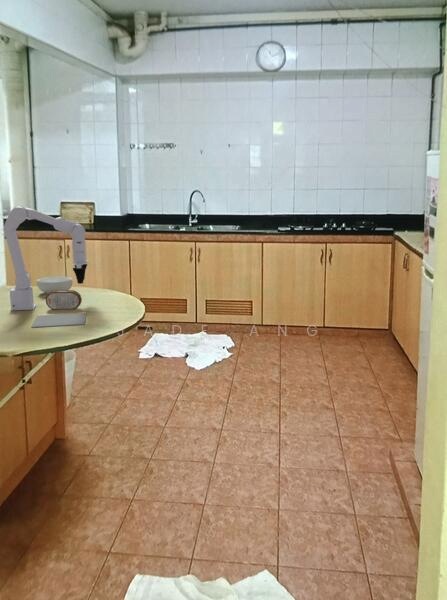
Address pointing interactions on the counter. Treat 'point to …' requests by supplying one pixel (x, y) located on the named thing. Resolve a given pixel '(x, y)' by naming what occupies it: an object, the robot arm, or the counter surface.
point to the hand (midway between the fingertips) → (81, 281)
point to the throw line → (64, 313)
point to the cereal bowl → (54, 283)
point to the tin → (63, 300)
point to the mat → (59, 320)
